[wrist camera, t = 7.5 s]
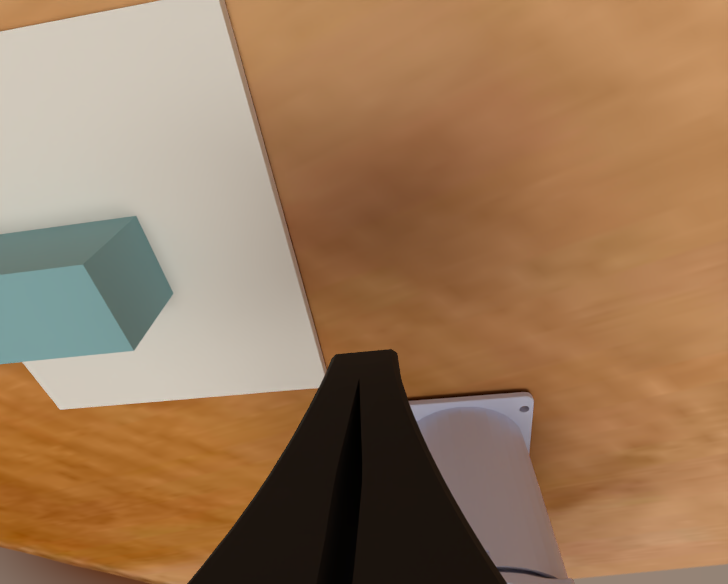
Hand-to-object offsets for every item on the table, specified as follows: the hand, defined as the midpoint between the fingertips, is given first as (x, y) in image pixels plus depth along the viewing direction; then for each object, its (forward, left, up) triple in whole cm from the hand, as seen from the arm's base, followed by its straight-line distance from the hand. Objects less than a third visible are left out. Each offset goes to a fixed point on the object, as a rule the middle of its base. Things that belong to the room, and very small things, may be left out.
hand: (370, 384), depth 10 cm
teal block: (-1, +10, -8) cm, 13 cm away
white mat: (-1, +12, -10) cm, 16 cm away
